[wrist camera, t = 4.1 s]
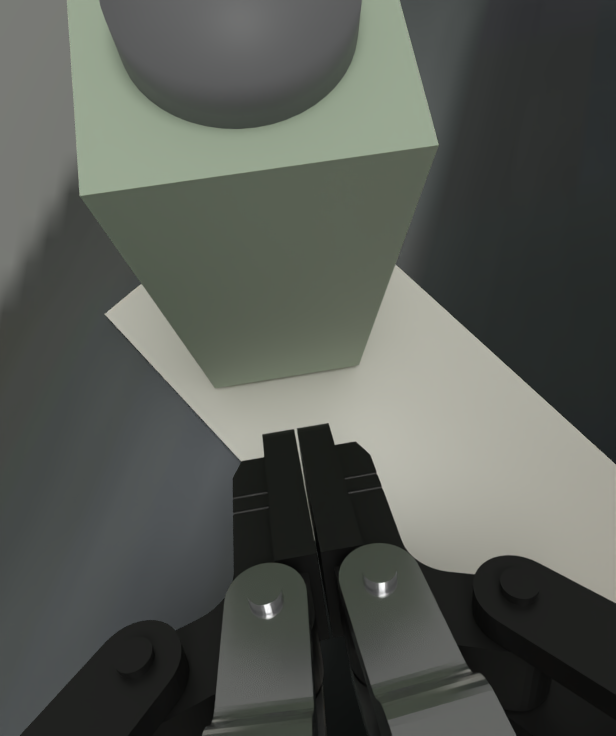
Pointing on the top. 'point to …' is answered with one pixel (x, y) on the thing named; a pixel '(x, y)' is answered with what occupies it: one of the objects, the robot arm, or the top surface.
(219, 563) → the top surface
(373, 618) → the robot arm
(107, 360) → the top surface
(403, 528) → the button board
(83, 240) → the top surface
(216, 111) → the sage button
